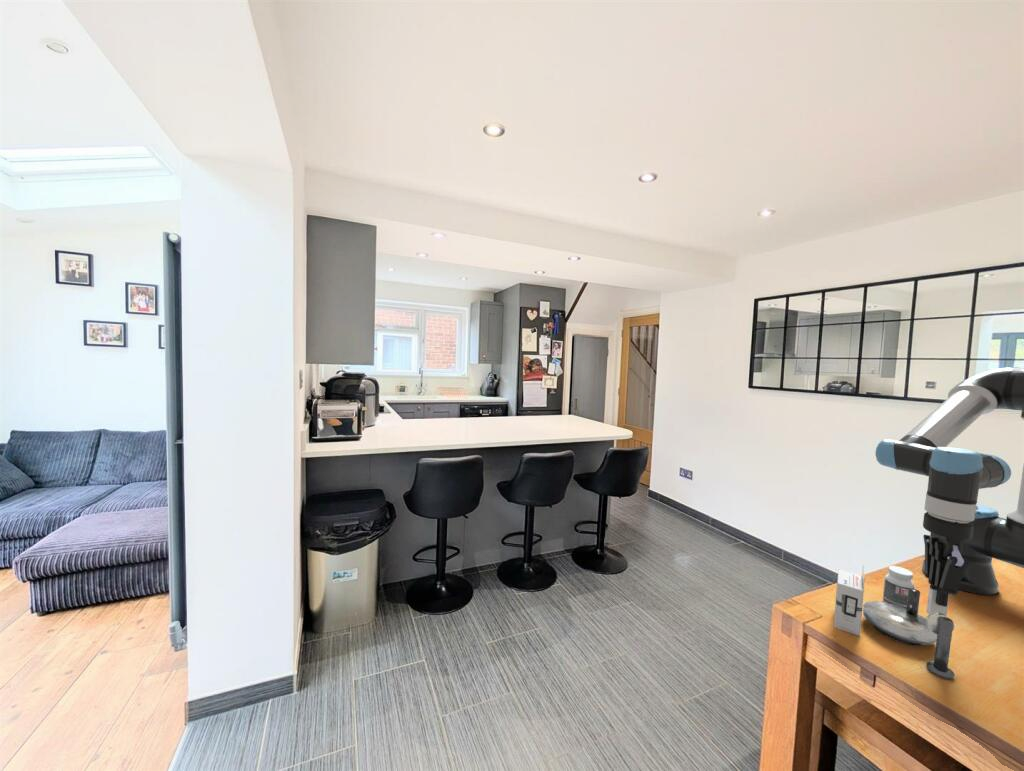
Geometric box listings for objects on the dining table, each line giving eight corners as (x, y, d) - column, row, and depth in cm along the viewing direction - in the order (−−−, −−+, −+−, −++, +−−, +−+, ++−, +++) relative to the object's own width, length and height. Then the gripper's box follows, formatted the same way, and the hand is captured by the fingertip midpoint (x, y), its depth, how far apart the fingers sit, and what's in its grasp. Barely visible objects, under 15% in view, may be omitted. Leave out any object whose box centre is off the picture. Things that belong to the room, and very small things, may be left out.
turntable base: (897, 619, 100) (897, 612, 100) (935, 645, 91) (936, 638, 91) (862, 619, 100) (863, 612, 100) (897, 645, 91) (898, 638, 91)
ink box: (834, 610, 103) (838, 557, 102) (859, 618, 100) (864, 564, 98) (833, 627, 96) (838, 571, 95) (860, 637, 93) (866, 579, 92)
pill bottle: (916, 615, 102) (920, 578, 101) (887, 608, 104) (890, 573, 103) (906, 602, 107) (910, 568, 106) (879, 596, 109) (882, 562, 108)
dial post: (960, 681, 81) (967, 626, 80) (935, 677, 82) (941, 623, 81) (944, 666, 85) (950, 614, 84) (920, 662, 86) (926, 610, 85)
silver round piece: (897, 606, 102) (900, 579, 101) (955, 644, 89) (958, 613, 88) (848, 606, 101) (851, 579, 101) (899, 644, 89) (902, 613, 88)
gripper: (991, 532, 80) (976, 639, 82) (955, 509, 92) (943, 604, 94) (941, 524, 83) (928, 627, 85) (912, 503, 95) (901, 595, 97)
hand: (936, 615), depth 90 cm, fingers closed
